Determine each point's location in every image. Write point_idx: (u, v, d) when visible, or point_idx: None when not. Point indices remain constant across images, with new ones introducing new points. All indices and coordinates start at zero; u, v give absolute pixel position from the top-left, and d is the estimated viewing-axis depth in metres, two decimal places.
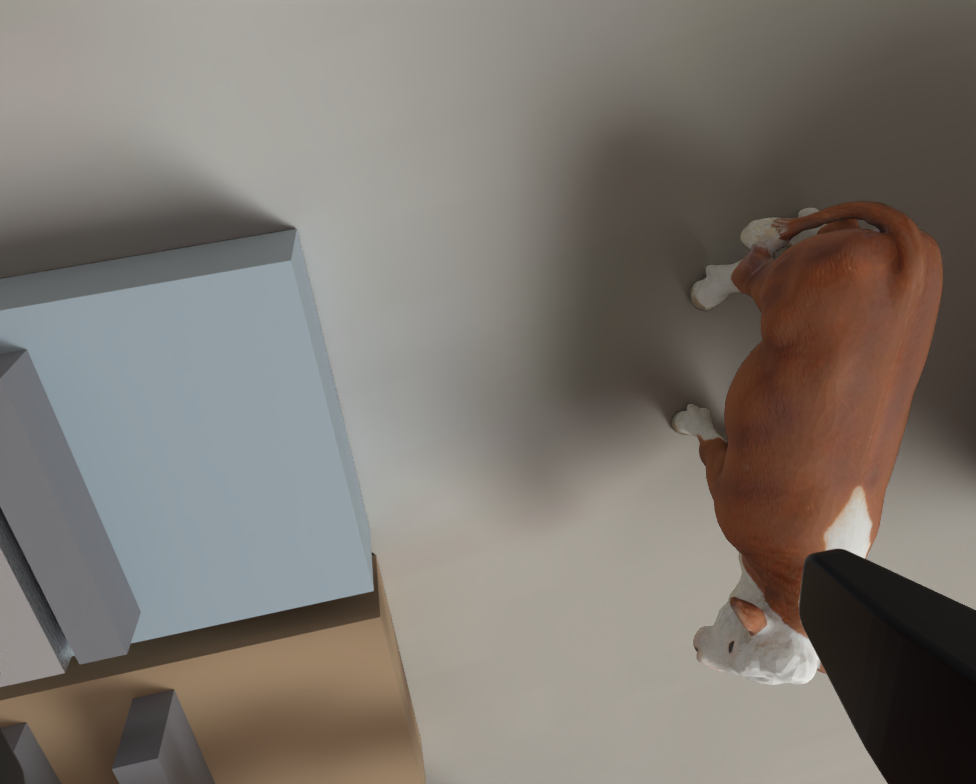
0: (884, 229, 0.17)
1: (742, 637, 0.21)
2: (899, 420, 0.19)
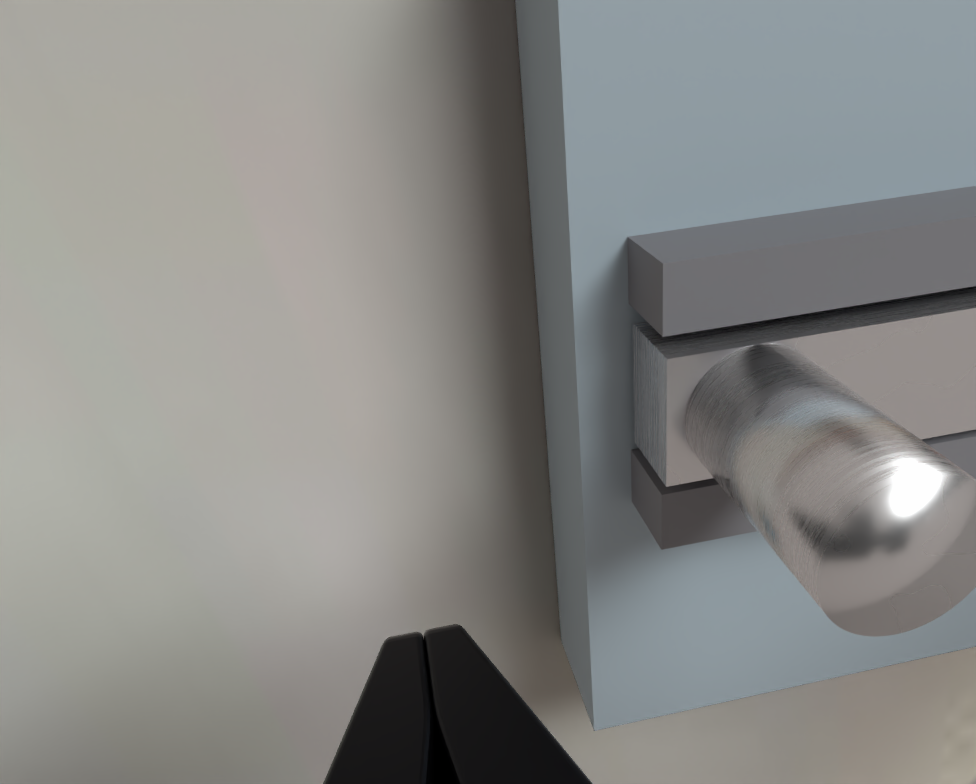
0: None
1: None
2: None
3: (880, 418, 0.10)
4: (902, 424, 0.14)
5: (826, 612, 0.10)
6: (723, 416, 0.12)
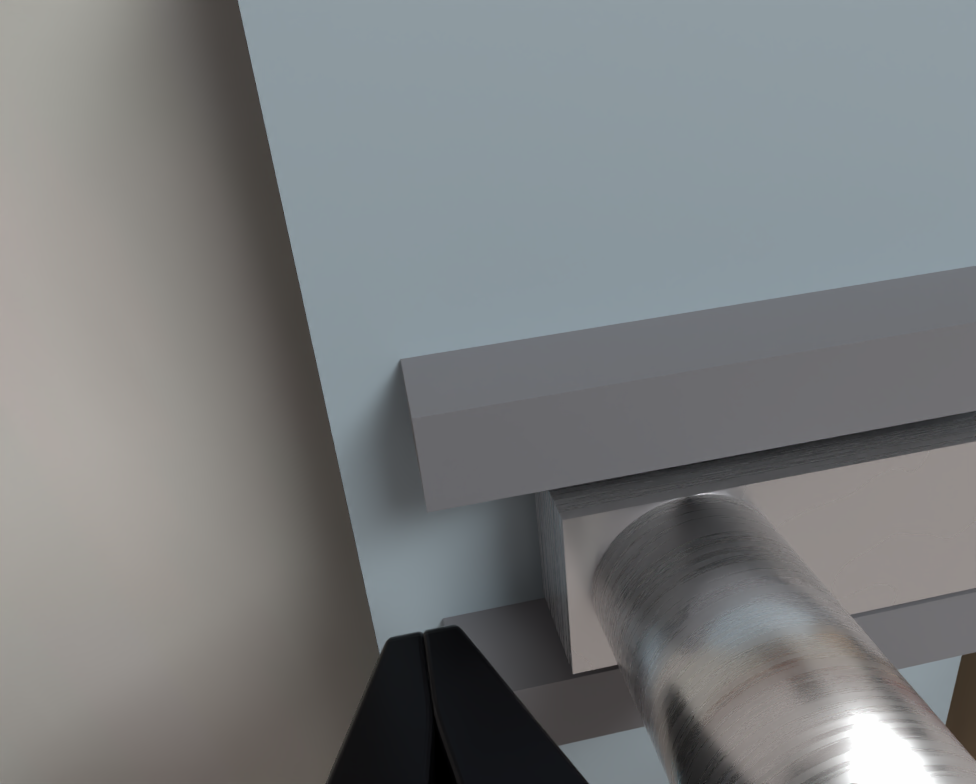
0: None
1: None
2: None
3: (851, 656, 0.07)
4: (890, 584, 0.10)
5: None
6: (634, 612, 0.08)
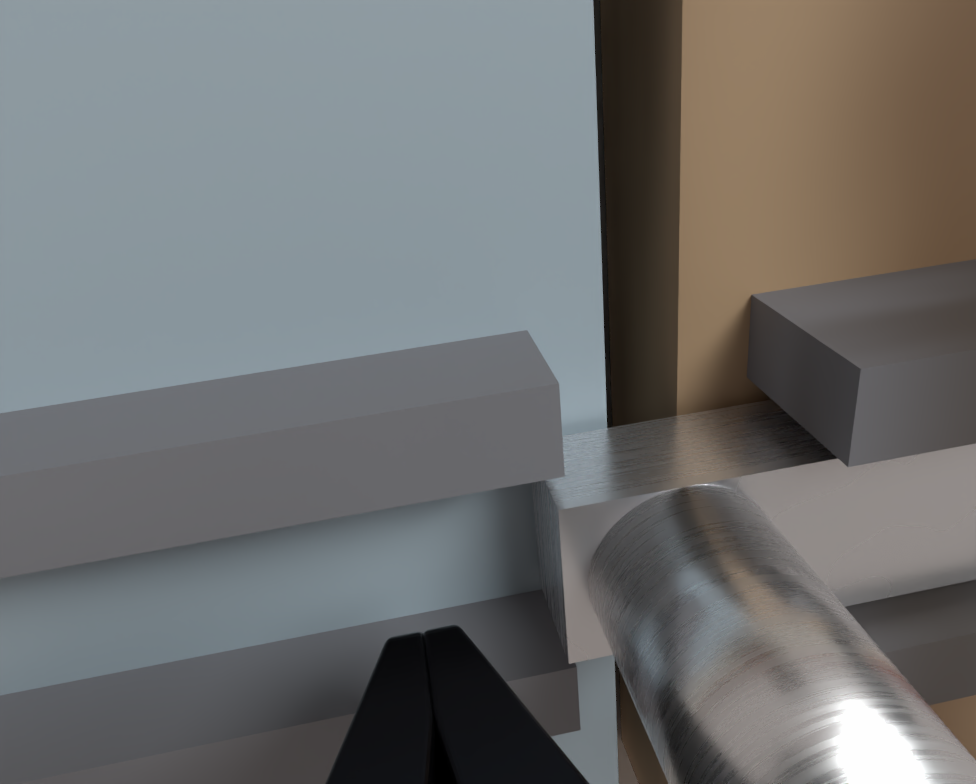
0: None
1: None
2: None
3: (841, 644, 0.07)
4: (885, 576, 0.10)
5: None
6: (629, 601, 0.08)
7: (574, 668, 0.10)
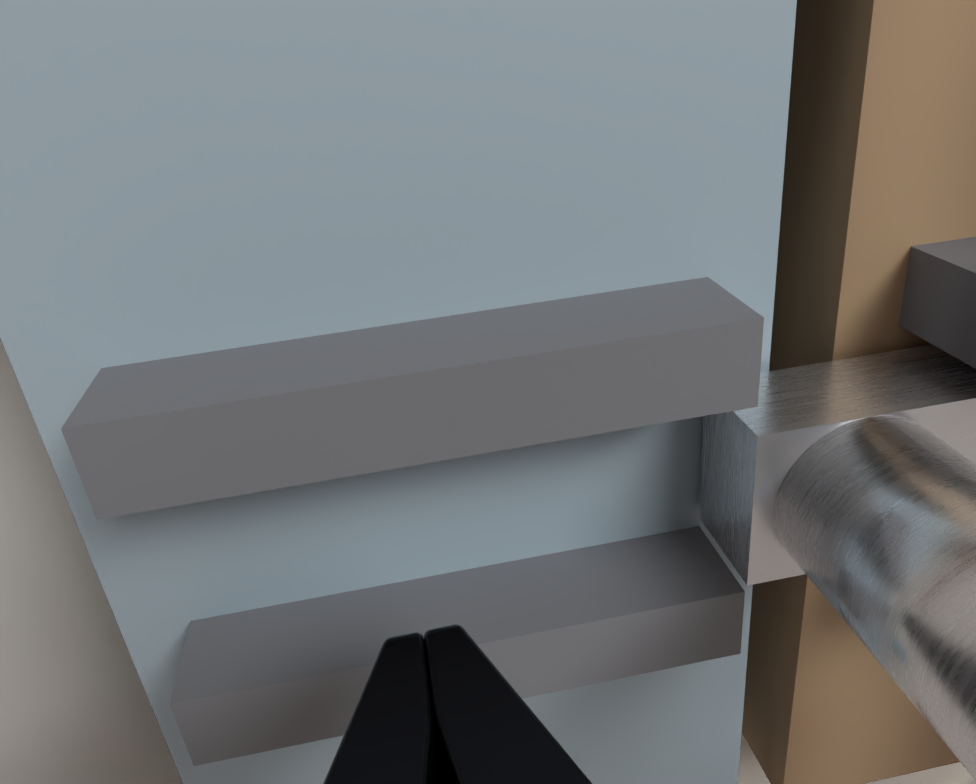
0: None
1: None
2: None
3: None
4: None
5: None
6: (834, 514, 0.09)
7: (743, 592, 0.11)
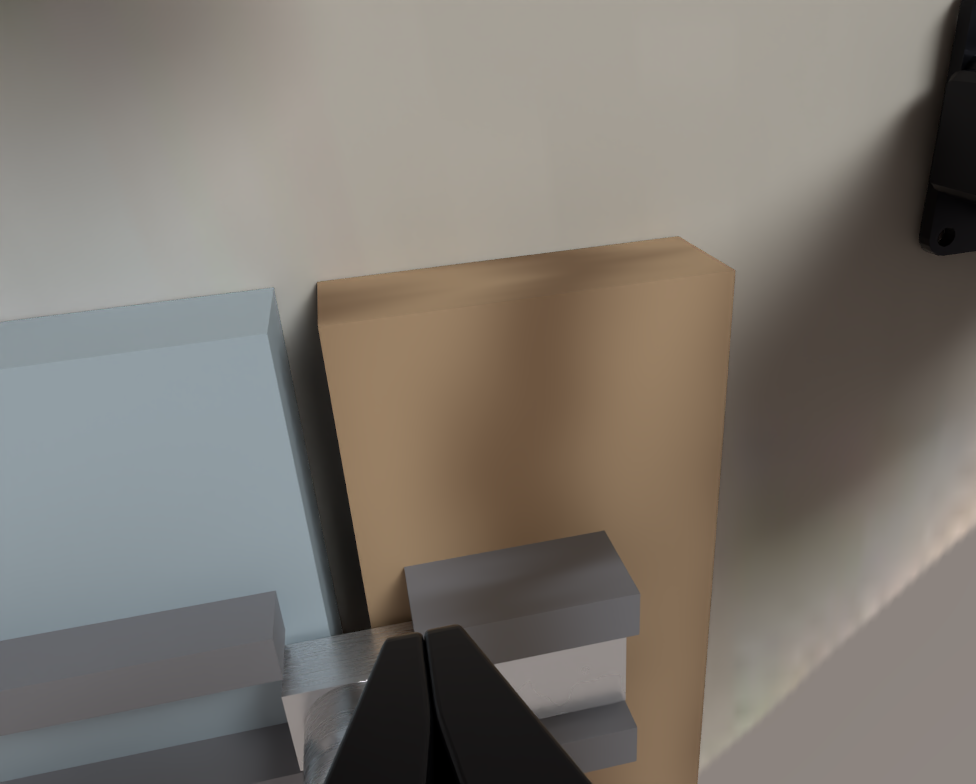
0: None
1: None
2: None
3: None
4: None
5: None
6: (308, 748, 0.17)
7: None
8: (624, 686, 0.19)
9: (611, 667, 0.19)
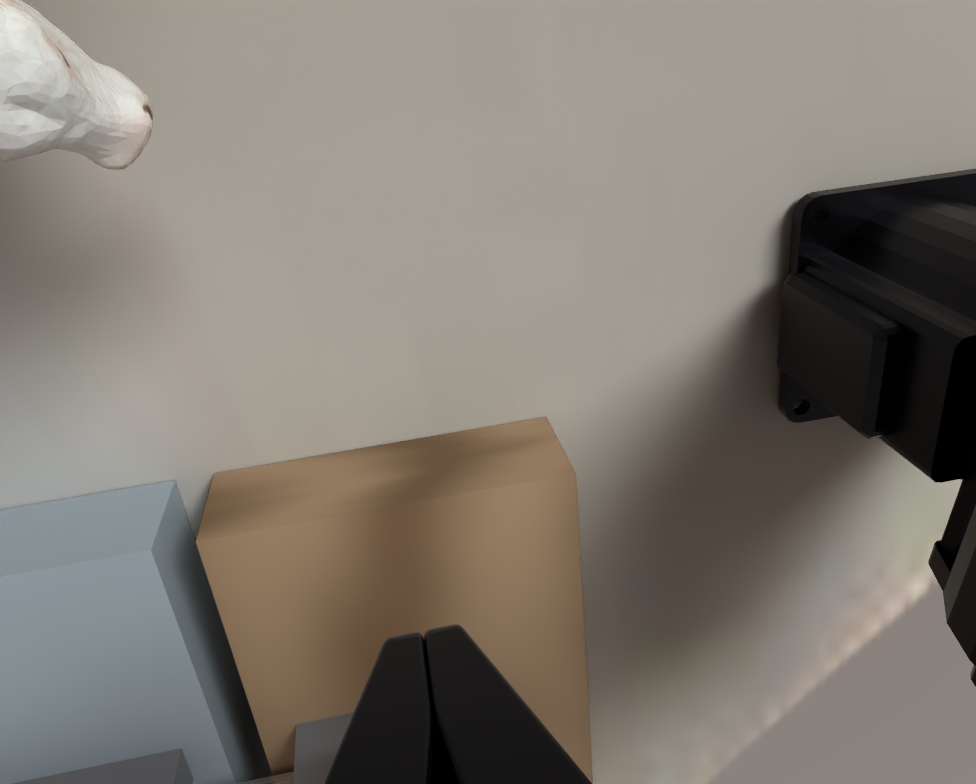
0: None
1: None
2: None
3: None
4: None
5: None
6: None
7: None
8: None
9: None
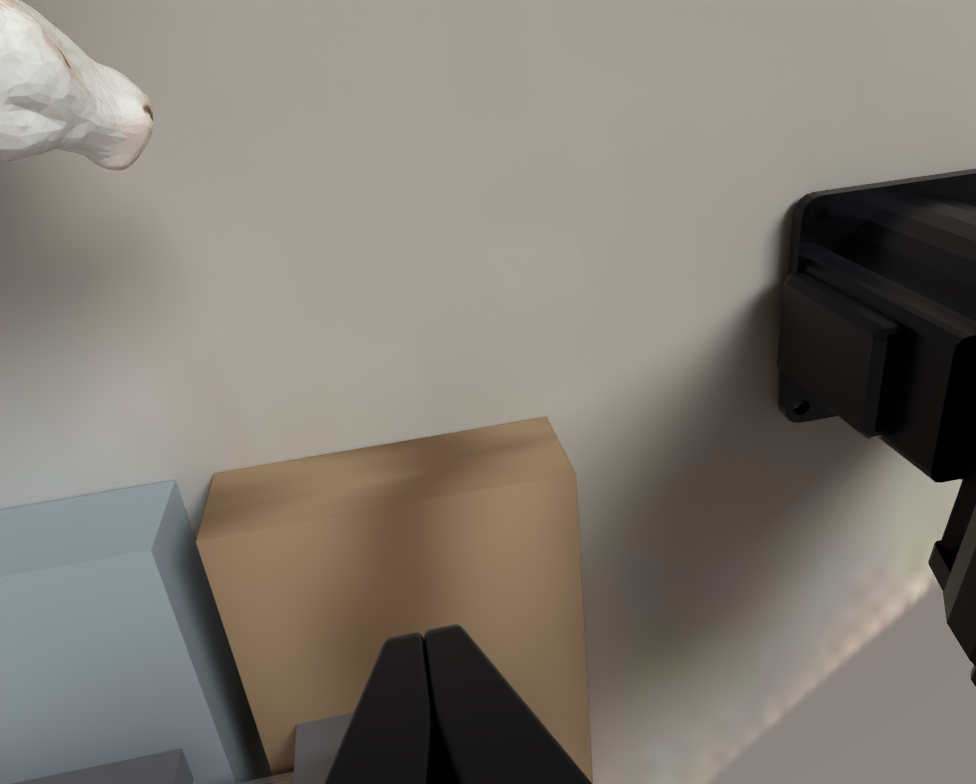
0: None
1: None
2: None
3: None
4: None
5: None
6: None
7: None
8: None
9: None
